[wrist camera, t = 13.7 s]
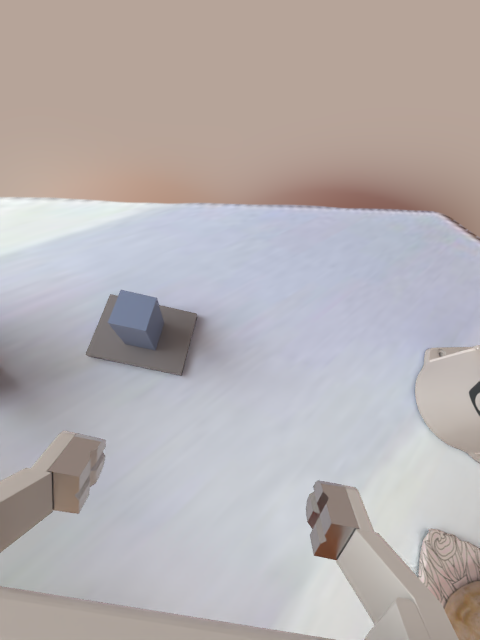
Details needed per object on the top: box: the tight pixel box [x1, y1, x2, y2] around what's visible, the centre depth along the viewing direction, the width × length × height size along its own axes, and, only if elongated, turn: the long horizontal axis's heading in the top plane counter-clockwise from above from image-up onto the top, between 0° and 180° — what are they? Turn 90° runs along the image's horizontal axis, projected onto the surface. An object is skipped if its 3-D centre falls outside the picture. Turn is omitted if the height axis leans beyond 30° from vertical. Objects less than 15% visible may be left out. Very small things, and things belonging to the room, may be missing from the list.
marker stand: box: [86, 294, 197, 376], centre depth 40 cm, size 14×10×8 cm
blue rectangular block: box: [108, 290, 164, 351], centre depth 39 cm, size 5×5×9 cm
